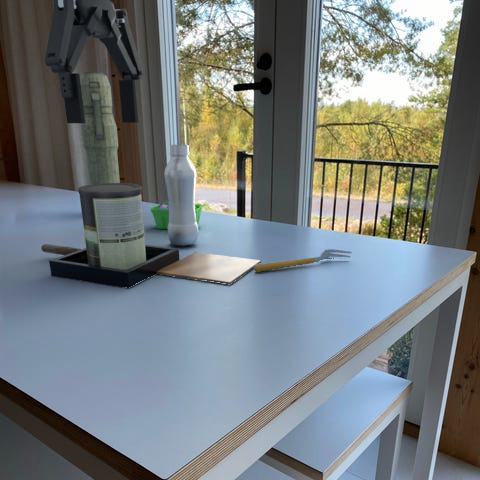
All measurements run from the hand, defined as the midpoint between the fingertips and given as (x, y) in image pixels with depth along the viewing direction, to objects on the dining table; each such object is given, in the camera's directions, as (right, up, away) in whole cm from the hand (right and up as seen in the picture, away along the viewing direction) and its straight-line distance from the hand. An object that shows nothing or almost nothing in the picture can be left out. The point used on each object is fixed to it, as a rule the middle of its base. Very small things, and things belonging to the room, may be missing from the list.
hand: (105, 123), depth 76 cm
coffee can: (0, -22, +9) cm, 24 cm away
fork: (+33, -22, +12) cm, 41 cm away
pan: (-5, -22, +11) cm, 25 cm away
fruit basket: (+6, -9, +42) cm, 43 cm away
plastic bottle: (+10, -16, +25) cm, 31 cm away
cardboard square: (+16, -22, +10) cm, 29 cm away
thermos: (-15, -2, +56) cm, 58 cm away
